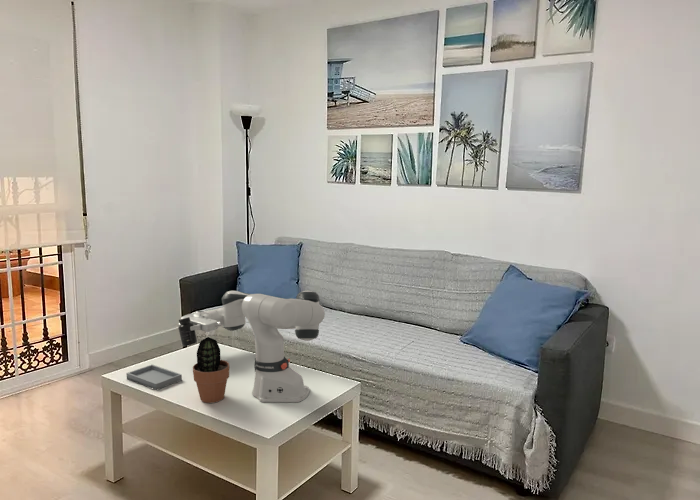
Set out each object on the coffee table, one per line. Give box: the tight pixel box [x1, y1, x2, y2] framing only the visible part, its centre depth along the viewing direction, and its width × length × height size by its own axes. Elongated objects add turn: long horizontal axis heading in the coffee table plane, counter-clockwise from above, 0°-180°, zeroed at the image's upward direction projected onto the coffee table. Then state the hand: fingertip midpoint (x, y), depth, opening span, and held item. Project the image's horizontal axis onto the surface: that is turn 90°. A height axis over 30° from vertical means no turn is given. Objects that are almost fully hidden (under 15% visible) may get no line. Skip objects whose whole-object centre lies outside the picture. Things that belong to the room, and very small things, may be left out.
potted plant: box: [192, 336, 230, 404], centre depth 205 cm, size 14×14×25 cm
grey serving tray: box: [126, 364, 183, 391], centre depth 225 cm, size 20×12×2 cm, turn 55°
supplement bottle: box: [178, 317, 198, 347], centre depth 242 cm, size 7×7×12 cm
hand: (184, 327), depth 242 cm, fingers closed on supplement bottle, 6 cm apart
